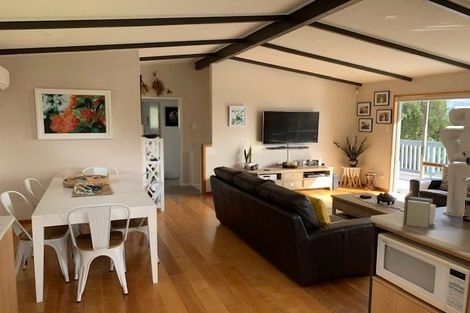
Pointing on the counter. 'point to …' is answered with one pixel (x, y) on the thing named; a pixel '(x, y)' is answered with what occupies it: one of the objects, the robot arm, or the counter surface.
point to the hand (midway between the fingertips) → (469, 165)
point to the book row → (418, 212)
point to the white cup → (432, 213)
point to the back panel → (406, 206)
